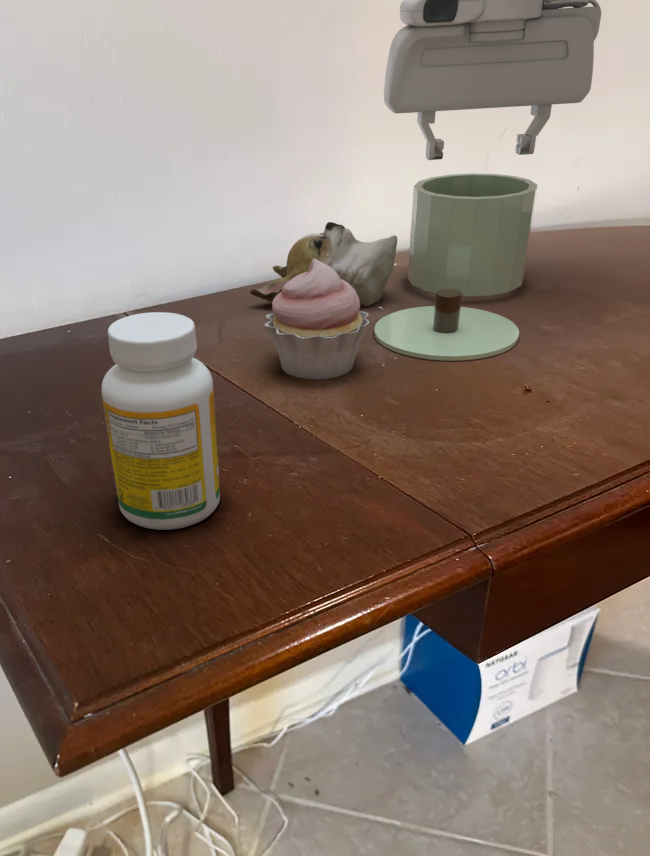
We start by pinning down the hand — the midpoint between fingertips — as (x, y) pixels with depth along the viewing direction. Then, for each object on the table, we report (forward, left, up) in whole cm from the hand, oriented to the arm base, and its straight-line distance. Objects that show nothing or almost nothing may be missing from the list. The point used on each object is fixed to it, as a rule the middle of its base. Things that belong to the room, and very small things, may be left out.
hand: (479, 156), depth 85 cm
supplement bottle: (+31, +45, -14) cm, 56 cm away
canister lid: (+6, +17, -13) cm, 22 cm away
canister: (0, 0, -13) cm, 13 cm away
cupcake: (+19, +23, -14) cm, 33 cm away
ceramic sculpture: (+16, +4, -14) cm, 22 cm away
